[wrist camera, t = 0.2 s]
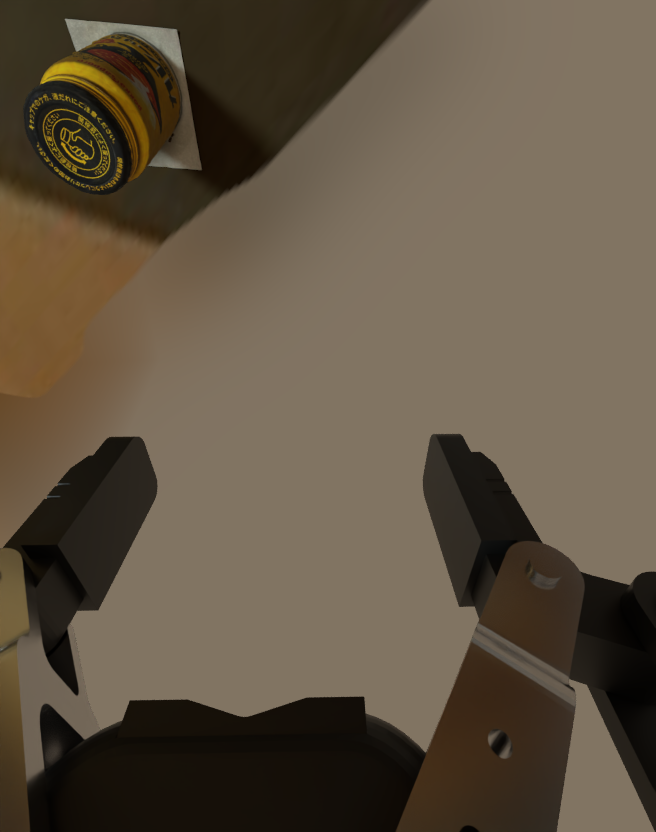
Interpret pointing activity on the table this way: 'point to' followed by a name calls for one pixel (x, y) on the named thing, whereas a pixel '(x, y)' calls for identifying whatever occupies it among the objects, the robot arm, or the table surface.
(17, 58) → the table surface
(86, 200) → the table surface
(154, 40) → the condiment
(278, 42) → the table surface
